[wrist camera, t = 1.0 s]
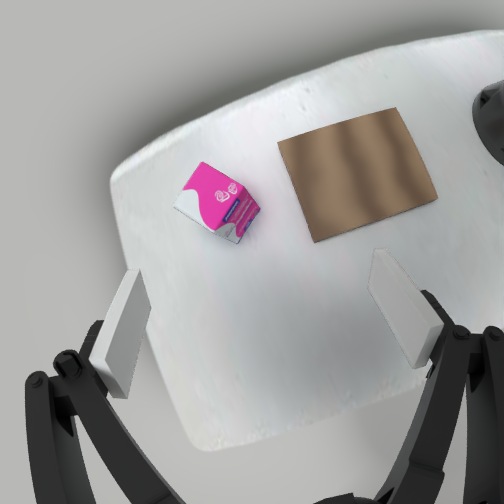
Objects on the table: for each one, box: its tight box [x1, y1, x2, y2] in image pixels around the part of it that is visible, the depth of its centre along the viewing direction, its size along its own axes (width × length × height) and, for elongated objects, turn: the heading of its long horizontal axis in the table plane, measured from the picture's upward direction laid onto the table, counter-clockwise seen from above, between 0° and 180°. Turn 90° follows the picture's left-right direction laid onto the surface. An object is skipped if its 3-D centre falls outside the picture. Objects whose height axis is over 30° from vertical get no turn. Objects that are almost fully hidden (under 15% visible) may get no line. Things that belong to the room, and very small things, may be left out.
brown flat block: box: [277, 107, 438, 243], centre depth 38 cm, size 18×14×2 cm
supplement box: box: [172, 162, 260, 244], centre depth 36 cm, size 6×6×12 cm
